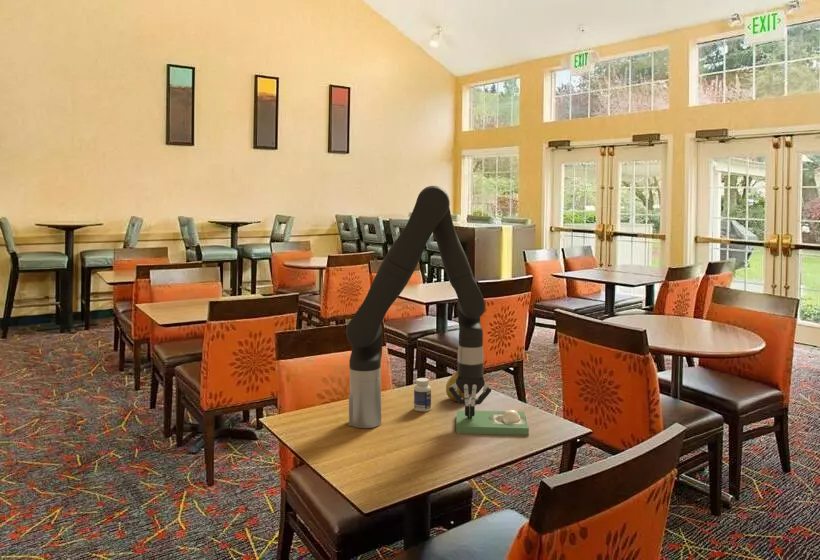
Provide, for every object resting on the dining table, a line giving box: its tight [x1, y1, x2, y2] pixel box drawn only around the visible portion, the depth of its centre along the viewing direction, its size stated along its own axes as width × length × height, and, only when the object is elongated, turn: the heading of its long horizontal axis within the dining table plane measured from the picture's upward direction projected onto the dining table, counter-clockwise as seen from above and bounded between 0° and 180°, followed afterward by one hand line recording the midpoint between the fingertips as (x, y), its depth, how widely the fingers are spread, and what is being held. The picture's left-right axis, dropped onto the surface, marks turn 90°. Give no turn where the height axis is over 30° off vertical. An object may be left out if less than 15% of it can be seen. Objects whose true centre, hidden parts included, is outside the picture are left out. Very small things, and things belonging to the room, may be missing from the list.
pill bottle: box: [413, 377, 432, 413], centre depth 200 cm, size 5×5×10 cm
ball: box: [503, 409, 520, 424], centre depth 185 cm, size 5×5×5 cm
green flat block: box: [455, 409, 530, 436], centre depth 186 cm, size 21×14×2 cm
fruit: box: [445, 370, 471, 402], centre depth 210 cm, size 9×9×12 cm
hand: (469, 417), depth 187 cm, fingers closed
